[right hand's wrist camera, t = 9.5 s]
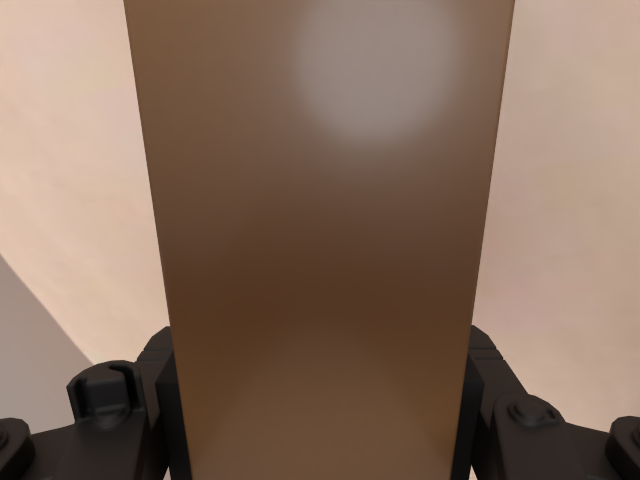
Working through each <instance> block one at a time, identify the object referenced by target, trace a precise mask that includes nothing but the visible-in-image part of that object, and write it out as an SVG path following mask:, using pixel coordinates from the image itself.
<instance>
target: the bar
mask: <svg viewBox="0 0 640 480" xmlns="http://www.w3.org/2000/svg"><path fill="white" fill-rule="evenodd" d="M514 4H515V0H124V7H125V14H126V21H127V28H128V35H129V42H130V49H131V56H132V63H133V70H134V77H135V84H136V91H137V98H138V105H139V112H140V119H141V126H142V133H143V140H144V147H145V154H146V161H147V168H148V175H149V182H150V189H151V195H152V202H153V209H154V216H155V223H156V230H157V237H158V244H159V251H160V258H161V265H162V272H163V279H164V286H165V293H166V300H167V307H168V314H169V321H170V328H171V335H172V342H173V349H174V356H175V363H176V370H177V377H178V384H179V391H180V398H181V405H182V411H183V418H184V425H185V432H186V439H187V446H188V453H189V460H190V467H191V474H192V480H451V472H452V465H453V457H454V450H455V443H456V435H457V428H458V420H459V413H460V405H461V398H462V391H463V383H464V376H465V368H466V361H467V353H468V346H469V338H470V331H471V324H472V316H473V309H474V301H475V294H476V286H477V279H478V272H479V264H480V257H481V249H482V242H483V234H484V227H485V220H486V212H487V205H488V197H489V190H490V182H491V175H492V167H493V160H494V153H495V145H496V138H497V130H498V123H499V115H500V108H501V101H502V93H503V86H504V78H505V71H506V63H507V56H508V49H509V41H510V34H511V26H512V19H513V11H514Z"/></svg>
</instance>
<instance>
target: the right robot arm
mask: <svg viewBox="0 0 640 480" xmlns="http://www.w3.org/2000/svg"><path fill="white" fill-rule="evenodd" d="M66 388H67V392H68V396H69V400H70V403H71V407H72V411H73V415H74V419H75V423H74V424H72V425H69V426H66V427H62V428H58V429H53V430H49V431H45V432H40V433H36V434H32V435H31V433H30V429H29V426H28V424H27V423H25V422H24V421H23V420H22V419H16V418H5V419H0V480H163V479H164V476H165V474H166V471H167V468H168V466H169V471H170V477H171V480H192V474H191V467H190V460H189V453H188V446H187V439H186V432H185V425H184V418H183V411H182V405H181V398H180V391H179V384H178V377H177V370H176V363H175V356H174V349H173V342H172V335H171V328H170V326H166V327H165V328H163V329H162V330H161V331H159V332H158V333H156V334H155V335H154V336H152V337H151V339H150V340H149V342H148V343H147V345H146V346H145V348H144V351H142V352H141V353H140V355H139V356H138V358H137V361H135V362H134V363H133V362H129V361H125V360H115V361H108V362H104V363H100V364H96V365H94V366H92V367H90V368H87V369H85V370H83V371H82V372H81V373H79V374H78V375H76V376H75V377H74V378H73V379H72V380H71V381H70V383H69V384H68V385H67V387H66ZM471 465H472V467H473V470H474V472H475V475H476V477H477V480H640V417H634V416H625V417H619V418H617V419H616V420H615V421H614V422H613V423H612V425H611V428H610V431H609V433H607V432H603V431H599V430H594V429H590V428H585V427H581V426H577V425H574V424H570V423H567V422H565V420H564V418H563V417H562V415H561V414H560V412H559V411H558V410H557V409H556V408H554V407H553V406H552V405H551V404H549V403H548V402H546V401H544V400H542V399H540V398H538V397H536V396H534V395H530V394H528V393H527V392H526V390H525V389H524V387H523V386H522V384H521V383H520V381H519V380H518V378H517V377H516V376H515V374H514V373H513V371H512V370H511V368H510V367H509V365H508V364H507V362H506V361H505V360H503V357H502V355H501V354H500V352H499V351H498V350H496V346H495V345H494V343H493V342H492V340H491V339H490V338H489V336H488V335H487V334H485V333H484V332H483V331H481V330H480V329H478V328H477V327H476V326H474V325H471V331H470V338H469V346H468V353H467V361H466V368H465V376H464V383H463V391H462V398H461V405H460V413H459V420H458V428H457V435H456V443H455V450H454V457H453V465H452V472H451V480H469V475H470V469H471Z"/></svg>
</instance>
